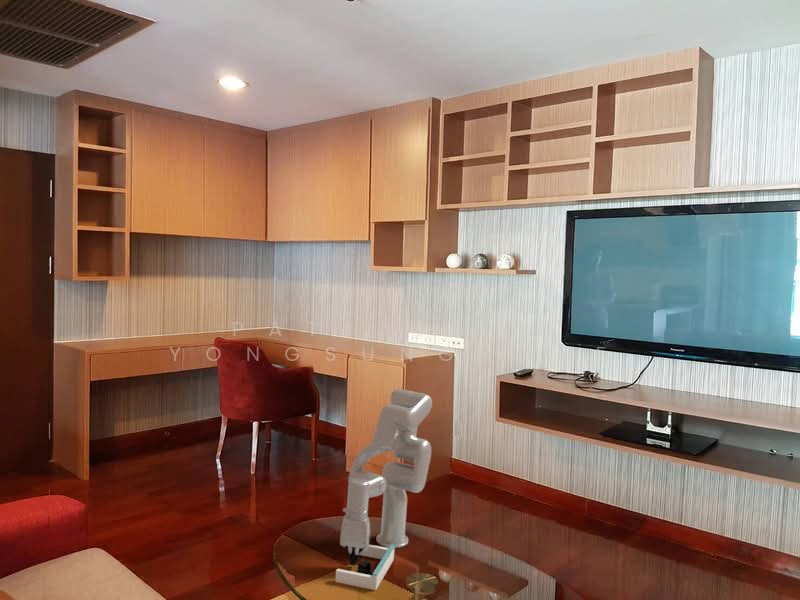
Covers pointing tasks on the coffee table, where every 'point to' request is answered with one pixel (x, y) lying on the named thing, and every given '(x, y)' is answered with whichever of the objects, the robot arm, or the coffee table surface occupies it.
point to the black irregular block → (365, 568)
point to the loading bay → (378, 574)
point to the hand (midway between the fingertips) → (353, 563)
